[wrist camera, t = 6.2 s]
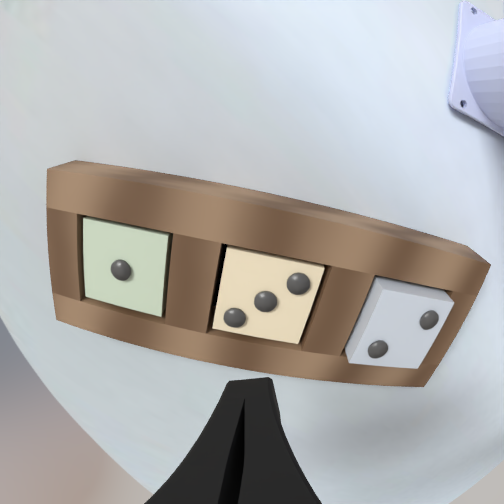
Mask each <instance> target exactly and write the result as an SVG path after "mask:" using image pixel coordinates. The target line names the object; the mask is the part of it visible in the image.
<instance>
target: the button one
mask: <svg viewBox="0 0 504 504" xmlns="http://www.w3.org/2000/svg"><path fill="white" fill-rule="evenodd" d="M172 241H173V233H170V232H165V231H160V230H156V229H151V228H146V227H141V226H136V225H131V224H126V223H121V222H116V221H111V220H106V219H101V218H97V217H92V216H86V217H85V218H83V256H84V280H85V295H86V297H89V298H92V299H96V300H99V301H103V302H106V303H110V304H114V305H117V306H121V307H125V308H129V309H132V310H136V311H140V312H144V313H148V314H152V315H156V316H160V317H161V316H162V314H163V312H164V310H165V308H166V303H167V291H168V280H169V269H170V259H171V250H172Z"/></svg>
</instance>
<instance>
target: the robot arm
mask: <svg viewBox="0 0 504 504" xmlns="http://www.w3.org/2000/svg"><path fill="white" fill-rule="evenodd" d="M471 10H472V11H473V12H474V14H473V13H472V11H471ZM461 101H462V102H463V108H462V107H461V105H460V102H461ZM448 102H449V105H450V106H451V107H452V108H453V109H455V110H457V111H459V112H461V113H463V114H465V115H467V116H469V117H470V118H472V119H474V120H476V121H478V122H479V123H481V124H483V125H485V126H486V127H488V128H490V129H492V130H493V131H495V132H497V133H498V134H500V135H501V136H503V137H504V18H503V19H499V20H495V19H493V18H492V17H491V16H489V15H488V14H486V13H485V12H483V11H482V10H480V9H479V8H477V7H475V6H474V5H472V4H471V3H469V2H467V1H462V2H460V4H459V16H458V29H457V39H456V49H455V57H454V64H453V71H452V78H451V84H450V90H449V95H448ZM144 504H322V503H321V502H320V500H319V499H318V497H317V496H316V494H315V492H314V491H313V489H312V487H311V486H310V484H309V482H308V481H307V479H306V477H305V475H304V473H303V472H302V470H301V468H300V466H299V464H298V462H297V460H296V458H295V456H294V454H293V452H292V449H291V447H290V445H289V443H288V440H287V438H286V436H285V433H284V430H283V428H282V425H281V419H280V412H279V407H278V403H277V398H276V394H275V389H274V385H273V380H272V379H271V378H269V377H265V378H256V379H246V380H234V381H229V382H228V383H227V385H226V387H225V389H224V391H223V393H222V396H221V398H220V400H219V402H218V404H217V406H216V408H215V410H214V412H213V413H212V415H211V417H210V419H209V421H208V422H207V424H206V426H205V428H204V429H203V431H202V433H201V434H200V436H199V438H198V439H197V441H196V442H195V444H194V445H193V447H192V448H191V450H190V451H189V453H188V454H187V456H186V457H185V458H184V460H183V461H182V462H181V464H180V465H179V466H178V468H177V469H176V470H175V471H174V473H173V474H172V475H171V476H170V477H169V479H168V480H167V481H166V482H165V483H164V484H163V485H162V486H161V487H160V488H159V489H158V491H157V492H156V493H155V494H154V495H153V496H152V497H151V498H150V499H149V500H148V501H147V502H146V503H144Z"/></svg>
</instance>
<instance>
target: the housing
mask: <svg viewBox="0 0 504 504" xmlns="http://www.w3.org/2000/svg"><path fill="white" fill-rule="evenodd" d="M86 216H92V217H97V218H101V219H106V220H111V221H116V222H121V223H126V224H131V225H136V226H141V227H146V228H151V229H156V230H160V231H165V232H170V233H173V241H172V250H171V259H170V269H169V280H168V291H167V303H166V308H165V310H164V312H163V314H162V316H161V317H160V316H156V315H152V314H148V313H144V312H140V311H136V310H132V309H129V308H125V307H121V306H117V305H114V304H110V303H106V302H103V301H99V300H96V299H92V298H89V297H86V295H85V280H84V256H83V218H85V217H86ZM47 237H48V253H49V265H50V275H51V284H52V293H53V300H54V307H55V313H56V320H58V321H61V322H64V323H67V324H70V325H73V326H76V327H79V328H82V329H85V330H88V331H91V332H94V333H97V334H100V335H104V336H107V337H110V338H113V339H117V340H120V341H124V342H127V343H131V344H134V345H138V346H142V347H145V348H149V349H153V350H157V351H161V352H165V353H169V354H173V355H177V356H182V357H186V358H190V359H195V360H199V361H204V362H209V363H214V364H219V365H224V366H229V367H234V368H240V369H245V370H251V371H257V372H263V373H269V374H276V375H283V376H290V377H297V378H305V379H313V380H322V381H332V382H342V383H354V384H367V385H383V386H405V387H424V386H425V384H426V383H427V382H428V380H429V379H430V377H431V376H432V374H433V373H434V371H435V369H436V368H437V366H438V365H439V363H440V362H441V360H442V358H443V357H444V355H445V354H446V352H447V350H448V349H449V347H450V345H451V344H452V342H453V340H454V338H455V337H456V335H457V333H458V331H459V329H460V328H461V326H462V324H463V322H464V320H465V318H466V317H467V315H468V313H469V311H470V309H471V307H472V305H473V303H474V301H475V299H476V297H477V295H478V293H479V291H480V288H481V286H482V284H483V282H484V280H485V277H486V275H487V273H488V271H489V268H490V266H491V264H489V263H488V262H487V261H486V260H485V259H483V258H482V257H481V256H480V255H478V254H477V253H476V252H474V251H473V250H472V249H471V248H469V247H468V246H466V245H462V244H459V243H456V242H453V241H450V240H446V239H443V238H440V237H437V236H433V235H430V234H427V233H423V232H420V231H416V230H413V229H409V228H406V227H402V226H399V225H395V224H392V223H388V222H384V221H381V220H377V219H373V218H370V217H366V216H362V215H358V214H354V213H350V212H346V211H342V210H338V209H334V208H330V207H326V206H322V205H318V204H314V203H309V202H305V201H301V200H297V199H292V198H288V197H283V196H279V195H274V194H270V193H265V192H260V191H255V190H251V189H246V188H241V187H236V186H231V185H226V184H221V183H216V182H210V181H205V180H200V179H194V178H188V177H183V176H177V175H171V174H165V173H159V172H153V171H147V170H141V169H134V168H127V167H121V166H114V165H106V164H99V163H91V162H84V161H71V162H68V163H65V164H61V165H58V166H55V167H52V168H49V169H47ZM224 244H229V245H234V246H239V247H243V248H248V249H253V250H258V251H263V252H268V253H272V254H277V255H282V256H287V257H292V258H297V259H301V260H306V261H311V262H316V263H321V264H323V265H324V268H325V269H324V272H323V275H322V278H321V281H320V284H319V287H318V290H317V292H316V295H315V298H314V301H313V304H312V307H311V310H310V313H309V315H308V318H307V321H306V324H305V327H304V329H303V332H302V335H301V337H300V340H299V343H298V344H295V343H289V342H283V341H277V340H271V339H265V338H259V337H254V336H249V335H243V334H238V333H233V332H228V331H223V330H218V329H213V328H212V327H213V322H214V316H215V310H216V306H213V305H214V299H215V293H216V288H217V282H218V276H219V271H220V265H221V260H222V254H223V249H224ZM375 275H378V276H383V277H388V278H393V279H398V280H402V281H407V282H412V283H417V284H421V285H426V286H431V287H436V288H441V289H443V290H444V291H445V292H446V293H447V295H448V296H449V297H450V298H451V299H452V300H453V302H454V305H453V307H452V309H451V311H450V313H449V314H448V316H447V318H446V320H445V322H444V324H443V326H442V328H441V330H440V331H439V333H438V335H437V337H436V339H435V340H434V342H433V344H432V346H431V347H430V349H429V351H428V353H427V354H426V356H425V358H424V359H423V361H422V362H421V364H420V366H419V367H418V369H414V368H399V367H386V366H374V365H364V364H354V363H349V362H348V358H347V355H346V351H345V348H344V346H345V344H346V342H347V340H348V337H349V335H350V333H351V331H352V329H353V326H354V324H355V322H356V319H357V317H358V315H359V313H360V310H361V308H362V305H363V303H364V301H365V298H366V296H367V293H368V291H369V288H370V286H371V283H372V281H373V278H374V276H375Z"/></svg>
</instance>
